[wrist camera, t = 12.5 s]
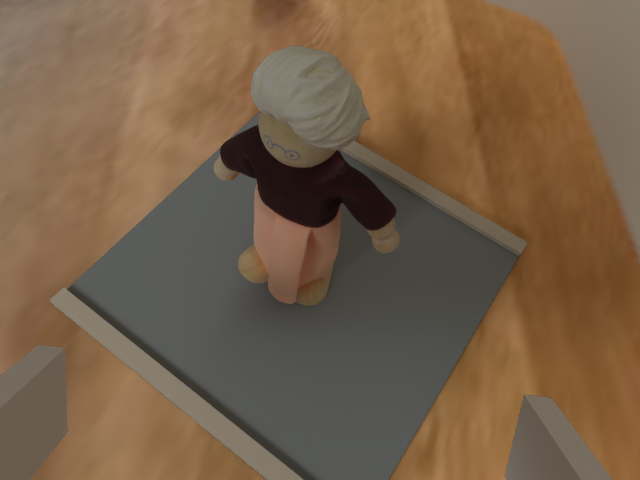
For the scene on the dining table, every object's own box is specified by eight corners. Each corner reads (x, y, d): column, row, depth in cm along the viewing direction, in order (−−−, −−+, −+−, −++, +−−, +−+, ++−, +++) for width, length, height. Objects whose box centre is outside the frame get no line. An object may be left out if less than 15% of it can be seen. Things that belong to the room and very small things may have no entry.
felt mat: (55, 306, 23) (49, 300, 22) (274, 102, 30) (274, 93, 29) (347, 546, 19) (349, 546, 18) (522, 248, 26) (527, 242, 25)
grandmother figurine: (205, 287, 23) (135, 76, 12) (234, 220, 25) (196, -17, 14) (366, 334, 23) (445, 155, 12) (384, 261, 25) (466, 48, 14)
